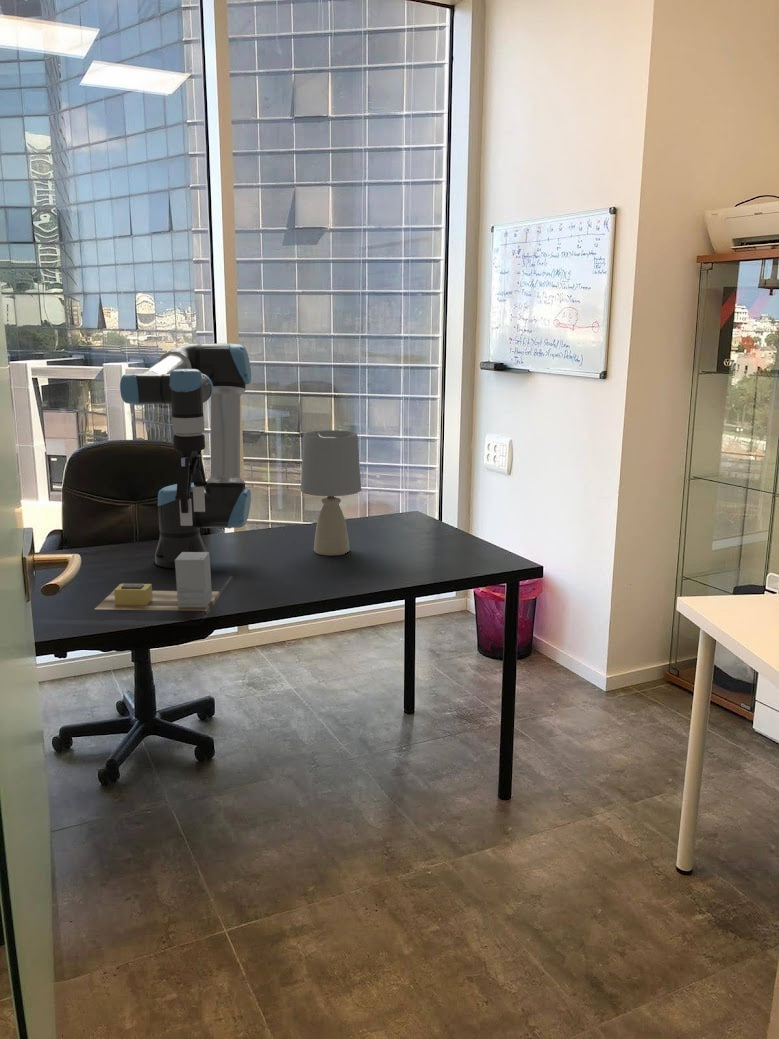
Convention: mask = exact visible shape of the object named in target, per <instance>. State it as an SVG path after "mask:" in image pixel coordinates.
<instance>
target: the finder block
mask: <svg viewBox="0 0 779 1039" xmlns="http://www.w3.org/2000/svg"><path fill="white" fill-rule="evenodd" d="M152 586H153V584H152V583H120V584H118V585H117V587H115V588H114V589H113V591H114V594H115V605H148V603H149V602H150V601H151V600H152V599H153V597H152V591H153V587H152Z"/></svg>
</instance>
